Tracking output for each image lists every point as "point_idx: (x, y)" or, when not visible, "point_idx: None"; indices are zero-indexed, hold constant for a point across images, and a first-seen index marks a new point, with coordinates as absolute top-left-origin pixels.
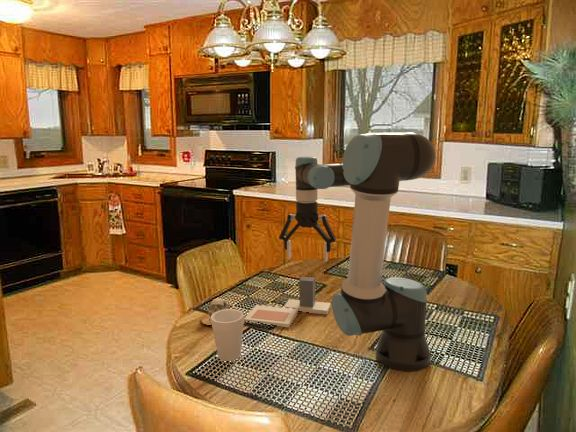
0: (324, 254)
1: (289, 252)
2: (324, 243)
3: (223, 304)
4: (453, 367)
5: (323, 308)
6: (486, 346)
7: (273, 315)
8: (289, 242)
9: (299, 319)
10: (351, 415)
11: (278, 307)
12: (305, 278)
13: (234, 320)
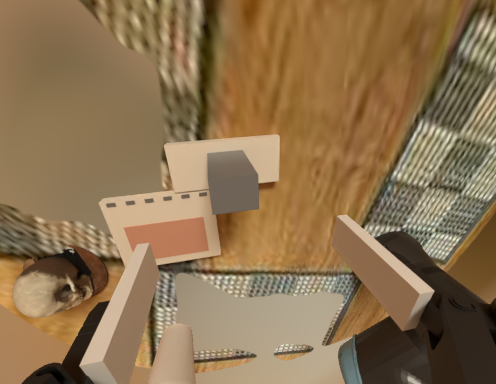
0: (354, 270)
1: (148, 299)
2: (405, 326)
3: (61, 303)
4: (430, 254)
5: (268, 173)
6: (493, 196)
7: (175, 238)
8: (123, 375)
9: (226, 214)
10: (324, 339)
11: (164, 201)
12: (226, 192)
13: (169, 377)
